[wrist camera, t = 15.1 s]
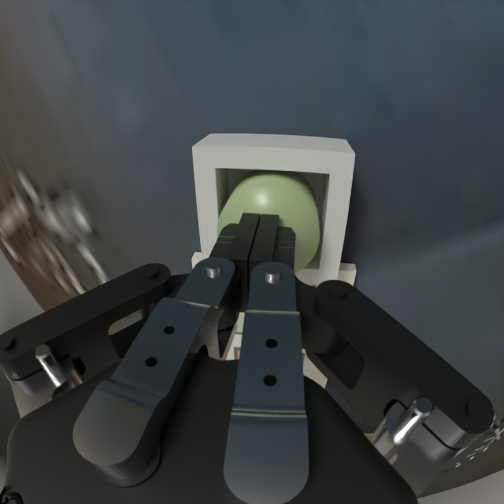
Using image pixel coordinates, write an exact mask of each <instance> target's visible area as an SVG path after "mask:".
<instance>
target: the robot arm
mask: <svg viewBox="0 0 504 504" xmlns="http://www.w3.org/2000/svg"><path fill="white" fill-rule="evenodd" d="M295 240H296V234H295V232H294V231H293V229H292V228H291V227H280V226H279V215H274V214H262V215H261V214H258V213H243V214H242V216H241V219H240V221H239V224H237V223H229V224H228V225H226V226H225V227H224V228H222V230H221V232H220V234H219V237H218V238H217V241H216V243H215V245H214V247H213V249H212V251H211V253H210V255H209V258H206V259H203V260H201V261H199V262H198V263H197V264H196V265H195V266H194V268H193V270H192V271H191V273H189V274H182V275H173V276H171V273H170V270H169V268H168V267H167V266H165V265H163V264H158V263H153V264H147V265H143V266H141V267H139V268H137V269H134V270H132V271H130V272H128V273H126V274H124V275H121V276H119V277H117V278H115V279H113V280H111V281H109V282H106V283H104V284H102V285H100V286H98V287H96V288H94V289H92V290H89V291H87V292H85V293H83V294H81V295H79V296H77V297H75V298H73V299H71V300H69V301H67V302H64V303H62V304H60V305H58V306H56V307H54V308H52V309H50V310H48V311H46V312H44V313H42V314H40V315H38V316H36V317H34V318H32V319H30V320H28V321H26V322H24V323H22V324H20V325H18V326H16V327H14V328H12V329H10V330H8V331H6V332H5V333H3V334H2V335H0V367H1V369H2V370H3V371H4V373H5V375H6V377H7V378H8V379H9V380H10V382H11V385H12V388H13V392H14V396H15V400H16V403H17V406H18V410H19V414H20V417H21V419H20V420H19V421H18V422H17V424H16V425H15V426H14V428H13V430H12V432H11V434H10V437H9V440H8V446H7V447H8V448H7V473H6V479H5V485H4V488H3V490H2V492H1V494H0V504H418V501H417V497H418V496H419V495H420V494H421V493H422V492H423V491H424V490H425V489H426V488H427V487H428V486H429V484H430V483H431V482H432V481H433V480H434V479H435V478H436V477H437V476H438V475H439V474H440V473H441V472H442V470H443V469H444V468H445V467H446V466H447V465H448V464H449V462H450V461H451V460H452V459H453V458H454V457H455V456H457V455H458V454H459V453H461V452H462V451H463V450H464V449H466V448H467V447H468V446H469V445H470V444H472V443H473V442H474V441H475V440H476V439H478V438H479V437H480V436H481V435H482V434H483V433H484V432H486V431H487V430H488V429H489V428H490V426H491V424H492V422H493V418H494V410H493V406H492V404H491V402H490V400H489V399H488V398H487V397H486V396H485V395H484V394H483V393H482V392H481V391H480V390H479V389H478V388H476V387H475V386H474V385H473V384H472V383H471V382H470V381H468V380H467V379H466V378H465V377H464V376H463V375H461V374H460V373H459V372H458V371H457V370H456V369H454V368H453V367H452V366H451V365H450V364H449V363H447V362H446V361H445V360H444V359H443V358H441V357H440V356H439V355H438V354H437V353H435V352H434V351H433V350H432V349H431V348H429V347H428V346H427V345H426V344H425V343H423V342H422V341H421V340H420V339H419V338H417V337H416V336H415V335H414V334H413V333H411V332H410V331H409V330H408V329H406V328H405V327H404V326H403V325H402V324H400V323H399V322H398V321H397V320H395V319H394V318H393V317H392V316H390V315H389V314H388V313H387V312H385V311H384V310H383V309H382V308H380V307H379V306H378V305H377V304H375V303H374V302H373V301H372V300H370V299H369V298H368V297H367V296H365V295H364V294H363V293H362V292H360V291H359V290H358V289H356V288H355V287H354V286H353V285H351V284H349V283H347V282H345V281H341V280H327V281H324V282H322V283H320V284H319V285H318V286H317V288H316V287H313V286H310V285H307V284H305V283H303V282H302V281H300V280H299V279H298V278H297V277H296V275H295V273H294V261H295ZM139 309H140V313H141V316H142V319H141V320H140V321H138V322H136V323H134V324H132V325H130V326H128V327H126V328H124V329H122V330H121V331H119V332H117V333H115V334H113V335H108V330H109V327H110V326H111V325H112V324H113V323H114V322H116V321H118V320H120V319H122V318H124V317H126V316H128V315H130V314H132V313H134V312H135V311H137V310H139ZM240 312H242V313H245V315H244V323H243V331H242V339H241V347H240V355H239V359H235V360H226V358H227V355H228V352H229V350H230V347H231V344H232V341H233V338H234V336H235V333H236V330H237V321H238V318H239V314H240ZM302 349H305V353H306V356H307V357H308V359H309V360H310V361H311V362H312V363H313V364H314V365H315V366H316V367H317V369H318V370H319V371H320V372H321V373H322V374H323V375H324V376H325V377H326V378H327V379H328V380H329V381H330V383H331V384H332V385H333V386H334V387H335V388H336V389H337V390H338V391H339V392H340V393H341V394H342V395H343V396H344V397H345V399H346V400H347V401H348V402H349V403H350V404H351V405H352V406H353V407H354V408H355V409H356V410H357V411H358V412H359V413H360V414H361V415H362V416H363V417H364V418H365V420H366V421H367V422H368V423H369V424H370V425H371V426H372V427H373V428H374V429H375V431H374V434H373V443H374V445H373V444H372V443H371V441H370V440H369V439H368V438H367V437H366V436H365V435H364V434H363V432H362V431H361V430H360V429H359V428H358V427H357V426H356V424H355V423H354V422H353V421H352V420H351V419H350V417H349V416H348V415H347V414H346V413H345V412H344V410H343V409H342V408H341V407H340V406H339V405H338V403H337V402H336V401H335V400H334V399H333V398H332V396H331V395H330V394H329V393H328V392H327V391H326V390H325V389H324V388H323V387H322V386H321V385H319V384H318V383H317V382H315V381H314V380H312V379H310V378H309V377H307V376H305V375H303V357H302Z"/></svg>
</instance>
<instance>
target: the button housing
mask: <svg viewBox="0 0 504 504" xmlns="http://www.w3.org/2000/svg"><path fill="white" fill-rule="evenodd" d="M192 151H193V164H194V177H195V189H196V200H197V211H198V221H199V231H200V241H201V250H202V259H206V258H209V255H210V253H211V251H212V249H213V247H214V245H215V243H216V241H217V238H218V237H217V224H218V220H219V217H220V214H221V212H222V210H223V208H224V207H225V205H226V203H227V201H228V199H229V198H230V196H231V194H232V192H233V190H234V189H235V187H236V185H237V184H238V182H239V181H240V180H241V179H242V178H243V177H244V176H245V175H246V174H248V173H249V172H251V171H253V170H255V169H263V170H283V171H294V172H296V173H298V174H299V175H301V176H302V177H303V178H304V179H305V180H306V181H307V182H308V183H309V184H310V186H311V187H312V189H313V191H314V193H315V196H316V200H317V208H318V219H319V230H320V241H319V246H318V249H317V252H316V254H315V256H314V257H313V259H312V260H311V261H310V262H309V264H308V265H307V266H305V267H304V268H303V269H302V270H300V271H298V272H297V273H295V275H296V277H297V278H298V279H299V280H300V281H302V282H303V283H305V284H307V285H319V284H320V283H322V282H324V281H327V280H337V277H338V271H339V266H340V260H341V254H342V249H343V242H344V236H345V230H346V223H347V216H348V209H349V202H350V194H351V186H352V178H353V169H354V160H355V153H354V151H353V150H352V148H351V147H350V145H349V144H348V142H347V141H346V140H345V139H335V138H324V137H311V136H296V135H276V134H209V135H208V136H207V137H205V138H204V139H202V140H201V141H200V142H198V143H197V144H195V145H194V146H193V147H192Z"/></svg>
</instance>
